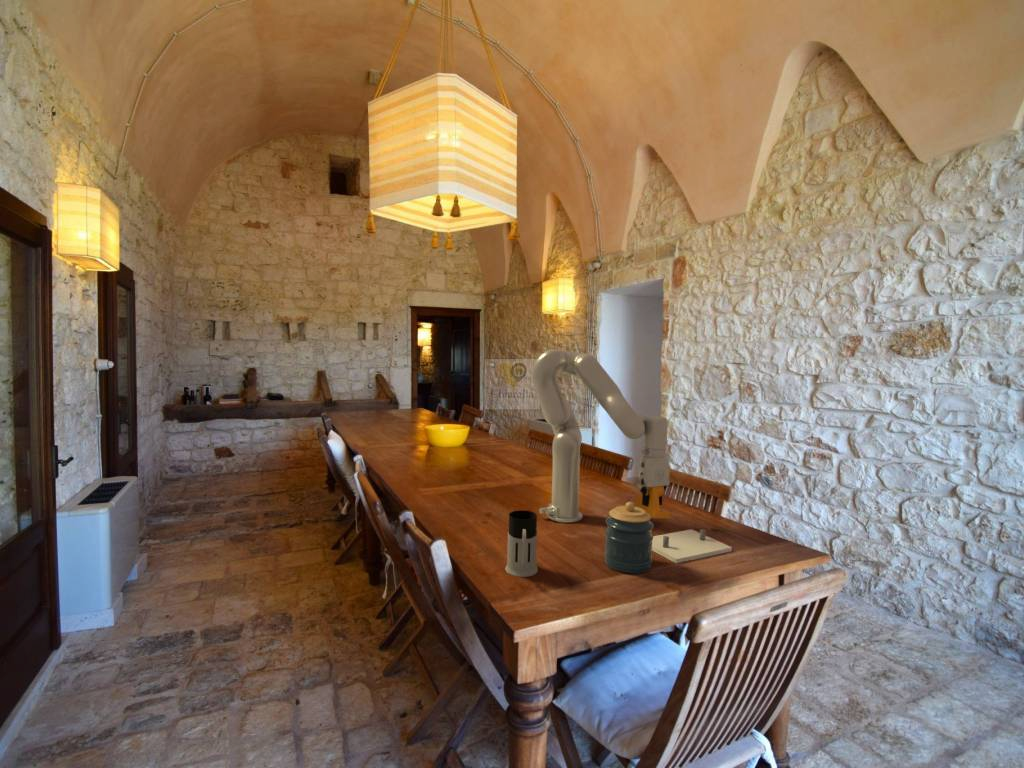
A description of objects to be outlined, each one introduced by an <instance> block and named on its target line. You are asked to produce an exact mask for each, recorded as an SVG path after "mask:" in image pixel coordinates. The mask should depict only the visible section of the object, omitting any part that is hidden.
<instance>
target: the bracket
mask: <svg viewBox="0 0 1024 768" xmlns="http://www.w3.org/2000/svg"><path fill="white" fill-rule="evenodd" d="M646 488H647V487H646ZM646 488H645V490H646ZM663 491H664V492H665V490H664V488H663V486H660V487H651V488H650V492H649V495H650V499H649V506H648V507H646V506H644V505H642V493H641V491H640V490H639V492H638V495H637V497H636V500H635V502H634V505H635V507H639V508H641V509H643V510H645V511H646V512H647V513H648V514H650V516H651V519H671V511H668V510H667V509H664V508H663V507H660V506H661V505H659V497H660V496H662V497H663V494H664V493H663Z"/></svg>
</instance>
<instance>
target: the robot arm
mask: <svg viewBox="0 0 1024 768" xmlns="http://www.w3.org/2000/svg"><path fill="white" fill-rule="evenodd" d="M531 372H532V373H531V377H532V383H533V386H534V390H535V392H536V396H537V399H538V403H539V405H540V408H541V409H542V413H543V417H544V419H545V422H546V423H548V425H550V427H551V429H552V432H553V434H554V437H553V439H552V446H551V447H552V448H551V449H552V452H551V453H552V469H551V471H552V475H551V477H552V478H551V479H552V483H551V503H548V506H547V507H540V508H539V509H538V511H539V514H540V515H541V514H546V516H547V518H548V519H549V520H552V521H554V522H558V523H567V524H568V523H576V522H580V521H582V519H583V513H582V512H581V511H579V500H580V496H579V495H580V493H579V492H580V471H581V470H580V467H581V466H580V465H581V462H580V461H581V455H580V454H581V445H582V439H583V437H582V432H581V429H580V427H579V425H578V422H577V421H578V420H577V419H576V415H575V414H574V410H573V408H572V406H571V404H570V403H569V401H567V400H566V399H565V398H564V396H563V393H562V390H561V387H560V384H559V382H558V379H557V376H558V374H563V375H570V376H577V377H578V378H579V379H580V380H581V382H582V383H583V384H584V386H586V388H587V389H588V391H589V392H590V393H591V395H593V397H594V398H595V399H596V401H597V402H598V403H599V405H600V407H602V409H604V411H605V412H606V413H607V415H608V416H609V418H610V419H611V420H612V422H614V424H615V425H616V426H617V428H618V430H620V431H621V432H622V434H623V435H624V436H625V437H626V438H627V439H630V440H638V439H641V438H642V437H643V449H641V454H642V456H641V458H640V462H639V467H638V480H637V481H636V483H635V487H636V489H638V490H639V492H640V491H641V493H642V505H644V506H646V507H648V506H649V499H650V495H649V492H650V488H651V487H660V486H663V488H664V491H663V494H665V490H666V489H667V487H668V486H670V484H671V481H670V464H669V463H670V462H669V458H668V456H667V443H668V442H667V441H668V427H669V426H668V423H669V422H668V419H667V418H666V417H664V416H660V415H642V414H639V413H638V414H637V412H636V411H635V410H634V409H633V407H632V406H631V405H630V404H629V402H628V401H627V399H626V398H625V396H624V394H623V393H622V392H621V390H620V388H619V386H618V385H617V383H616V381H614V380H613V378H611V376H610V374H609V373H608V372H607V370H605V368H604V367H603V366H602V365H601V364H600V362H599V361H598V359H597V357H595V356H594V355H592V354H590V353H583V352H581V353H580V352H574V351H569V350H563V349H554V348H550V349H547V350H545V351H544V352H543V353H541V354H540V356H539V357H538V358H537V359H536V361H535V363H534V365H533V367H532V371H531ZM646 487H647V488H646ZM645 488H646V490H645ZM662 505H663V495H662V496H660V497H659V506H662Z"/></svg>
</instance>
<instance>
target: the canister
mask: <svg viewBox="0 0 1024 768" xmlns="http://www.w3.org/2000/svg"><path fill="white" fill-rule="evenodd" d="M608 515H609V516H608V517H607V518H606V519H605V524H606V525H607V528H606V530H605V532H604V535H605V549H604V554H603V555H604V556H603V557H604V563H605V564H606V565H607V566H608V567H609V568H610V569H612V570H614V571H618V572H620V573H621V572H622V573H625V574H643V573H646V572H648V571H649V570H651V568H652V564H653V555H652V554H653V550H652V540H653V534H652V530H653V528H654V523H653V522H652V521H651V519H652V518H651V516H650V514H648V513H647V512H646V511H645V510H643V509H641V508H639V507H635V502H633V501H628V502H626V503H625V505H619V506H615V507H614V508H613V509H611V510H610V511H609V512H608Z"/></svg>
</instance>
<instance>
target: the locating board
mask: <svg viewBox="0 0 1024 768" xmlns="http://www.w3.org/2000/svg"><path fill="white" fill-rule="evenodd" d="M706 531H707V530H706V529H703V528H702V529H700V530H699V532H698V531H696V530H694V529H686V530H682V531H681V530H679V531H674V532H669V533H665V534H660V535H659V534H658V535H654V536H653V540H652V552H655V553H657V554H659V555H660V556H661V557H664V558H666V559H667V560H669V561H671V562H672V563H674V562H675V564H679V563H685V562H689V560H690V561H693V560H698V559H702V558H703V559H704V558H707V557H712V556H717V555H720V554H726V553H731V552H732V551H733V547H732V546H729V545H727V544H725V543H723V542H720V541H718V540H716V539H714V538H712V537H710V536H707V535H706V533H707V532H706ZM684 561H685V562H684Z"/></svg>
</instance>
